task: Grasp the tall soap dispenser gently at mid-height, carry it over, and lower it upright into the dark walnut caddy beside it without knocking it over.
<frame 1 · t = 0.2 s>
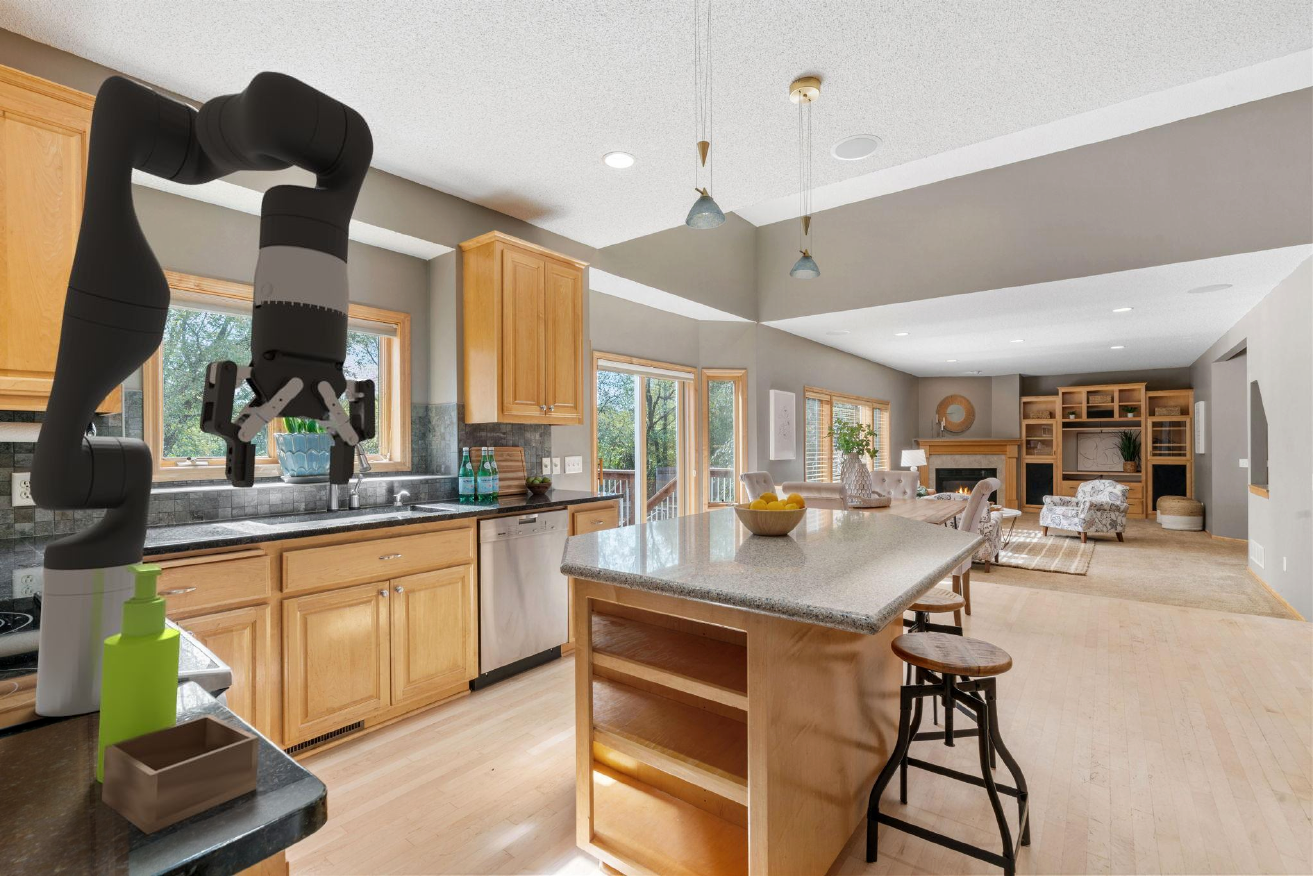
hand: (293, 485, 55), 29 cm above the counter, fingers open, 8 cm apart
soap dispenser: (135, 769, 61), on the counter
walnut caddy: (180, 794, 57), on the counter
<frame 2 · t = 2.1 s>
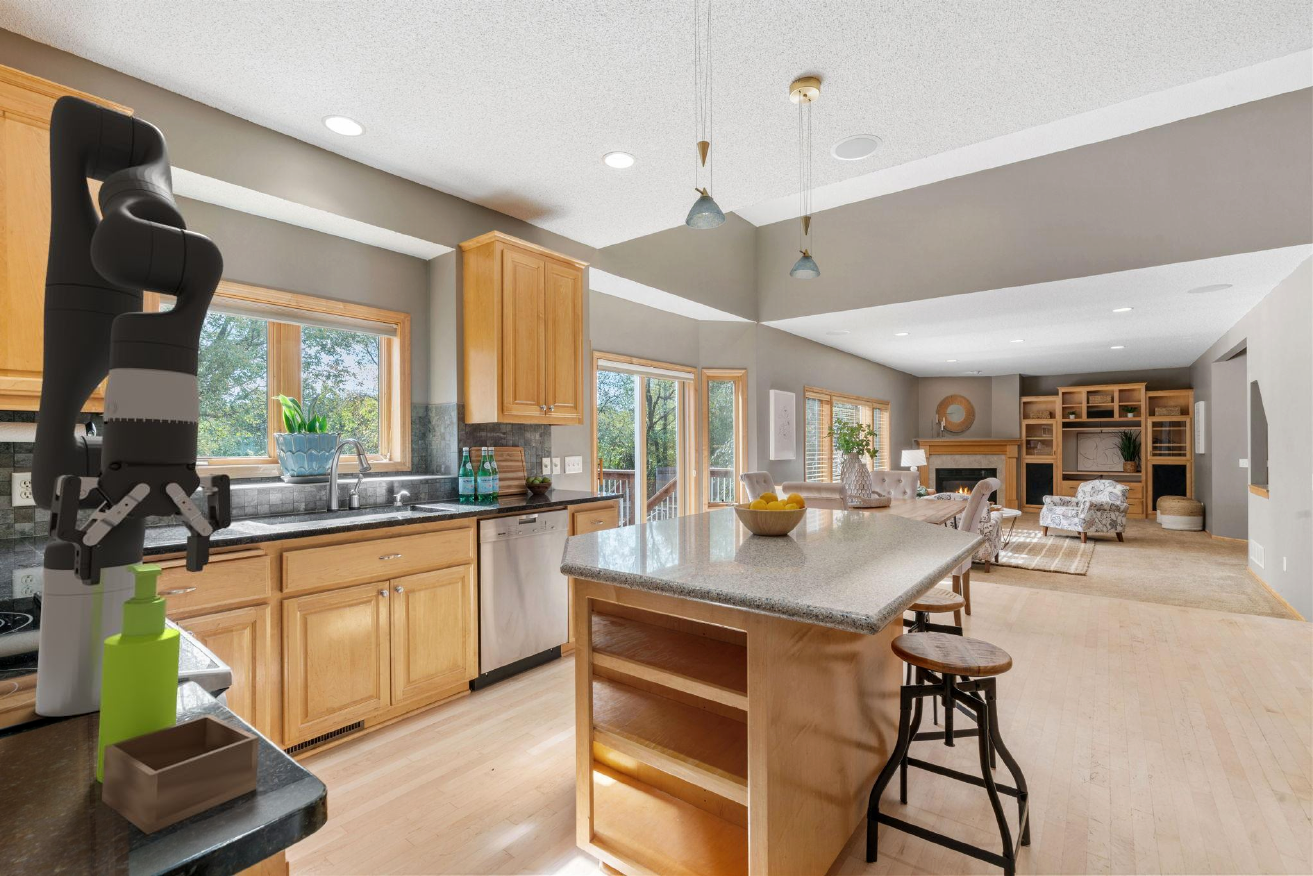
hand: (145, 577, 62), 19 cm above the counter, fingers open, 8 cm apart
nothing on the counter moved.
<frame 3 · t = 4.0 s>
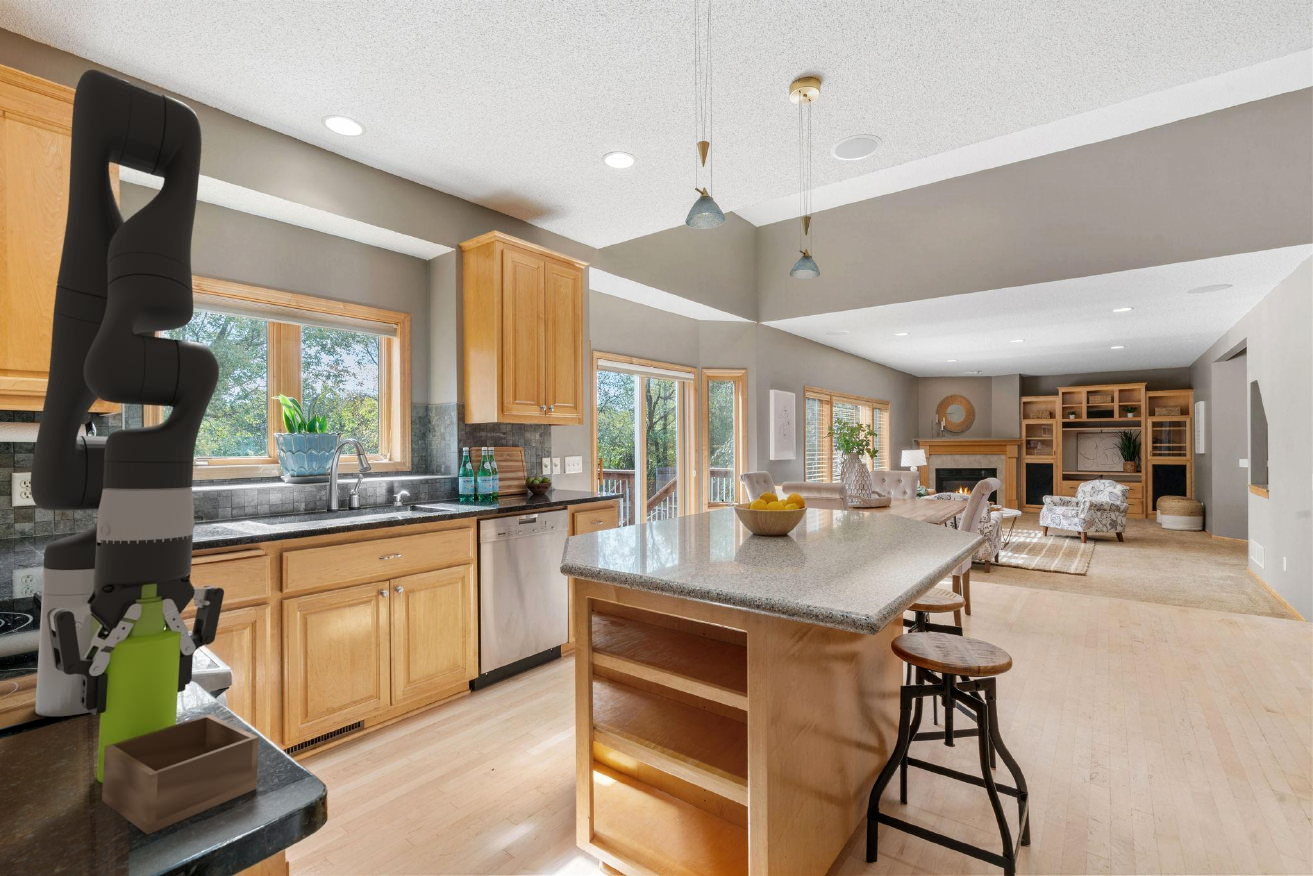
hand: (138, 700, 61), 7 cm above the counter, fingers closed on soap dispenser, 6 cm apart
soap dispenser: (135, 768, 61), on the counter, touching gripper
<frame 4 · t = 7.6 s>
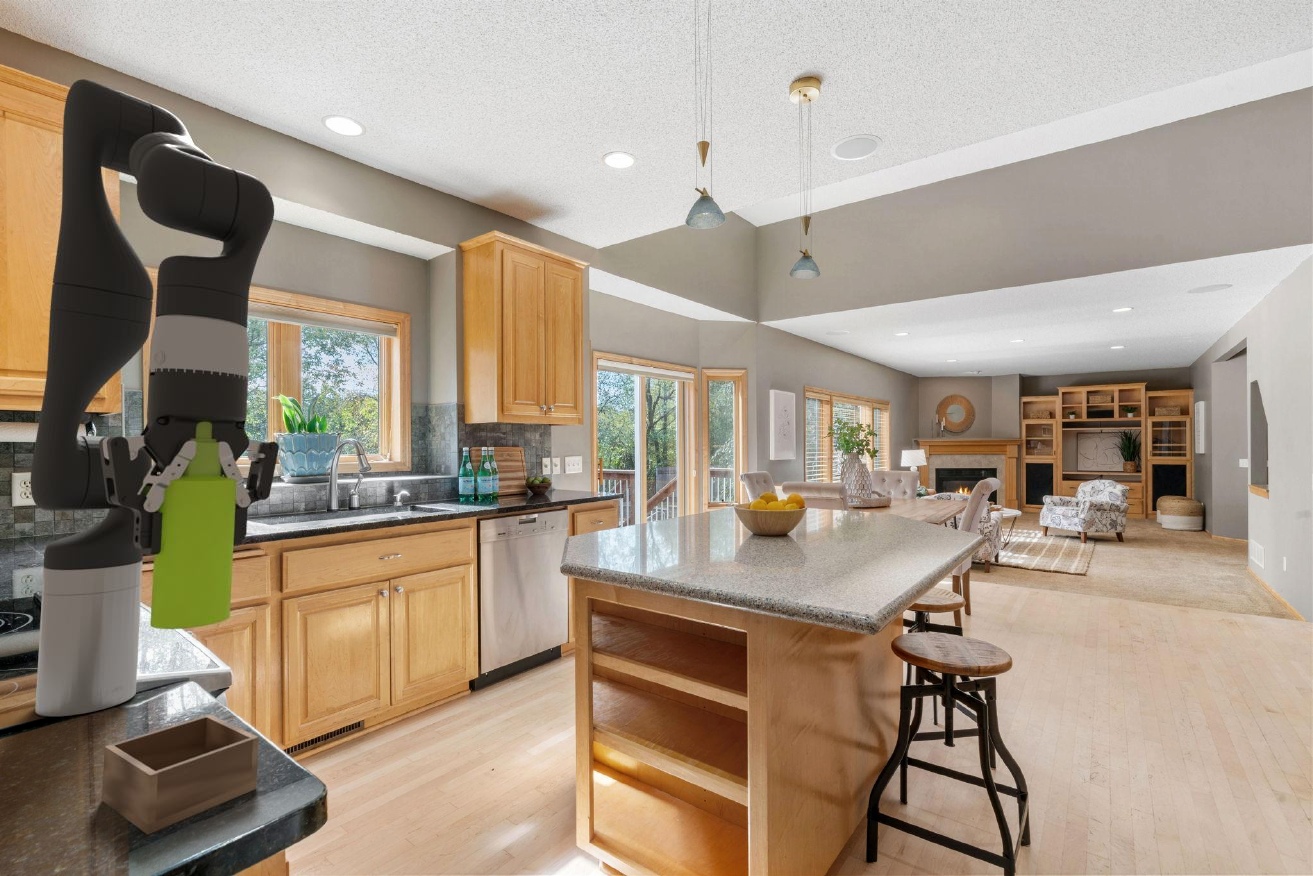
hand: (192, 548, 57), 23 cm above the counter, fingers closed on soap dispenser, 6 cm apart
soap dispenser: (189, 621, 57), point 16 cm above the counter, touching gripper
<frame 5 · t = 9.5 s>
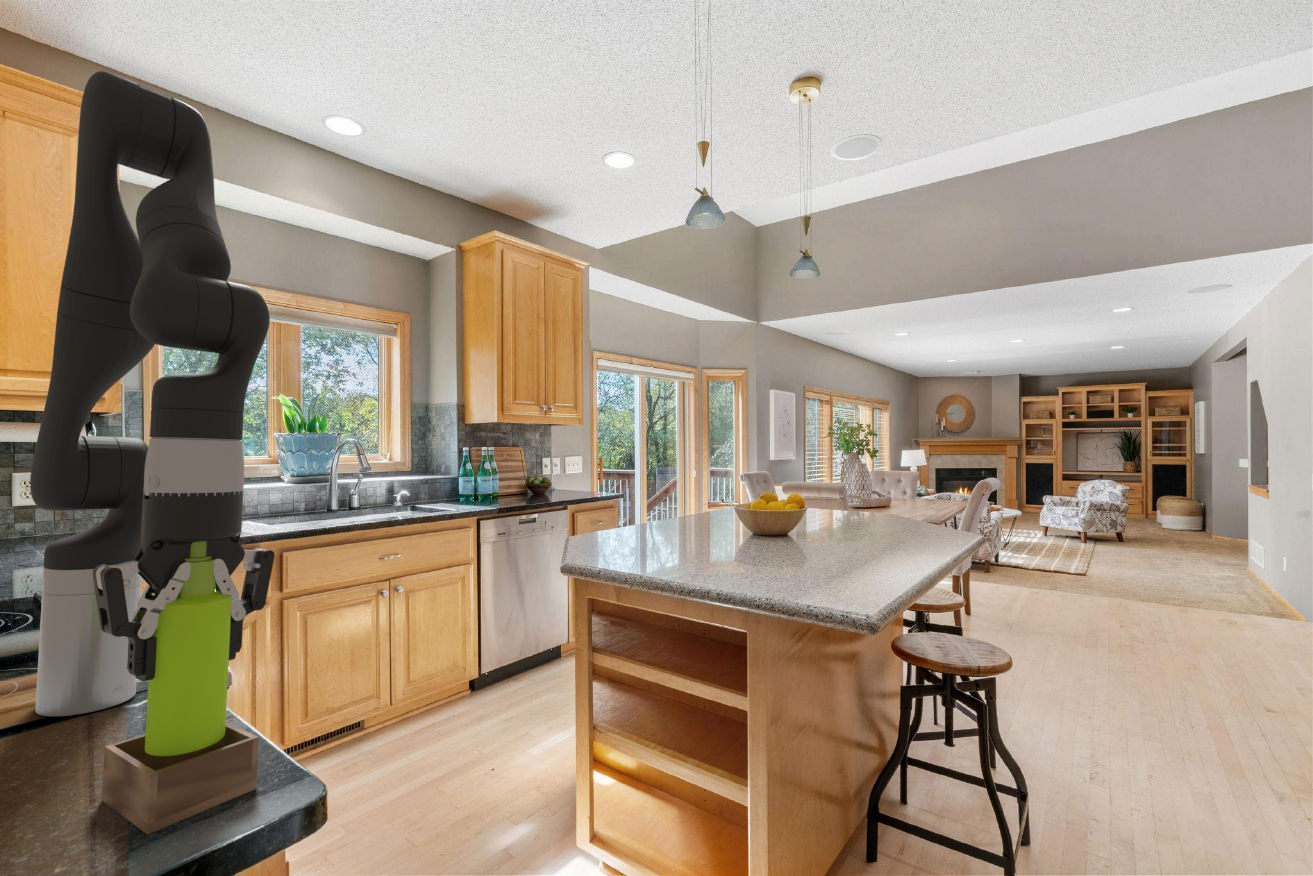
hand: (186, 667, 57), 12 cm above the counter, fingers closed on soap dispenser, 6 cm apart
soap dispenser: (184, 741, 57), point 5 cm above the counter, touching gripper
when the fingers open (9 cm above the counter, at t = 11.1 s): soap dispenser drops 1 cm, resting on walnut caddy.
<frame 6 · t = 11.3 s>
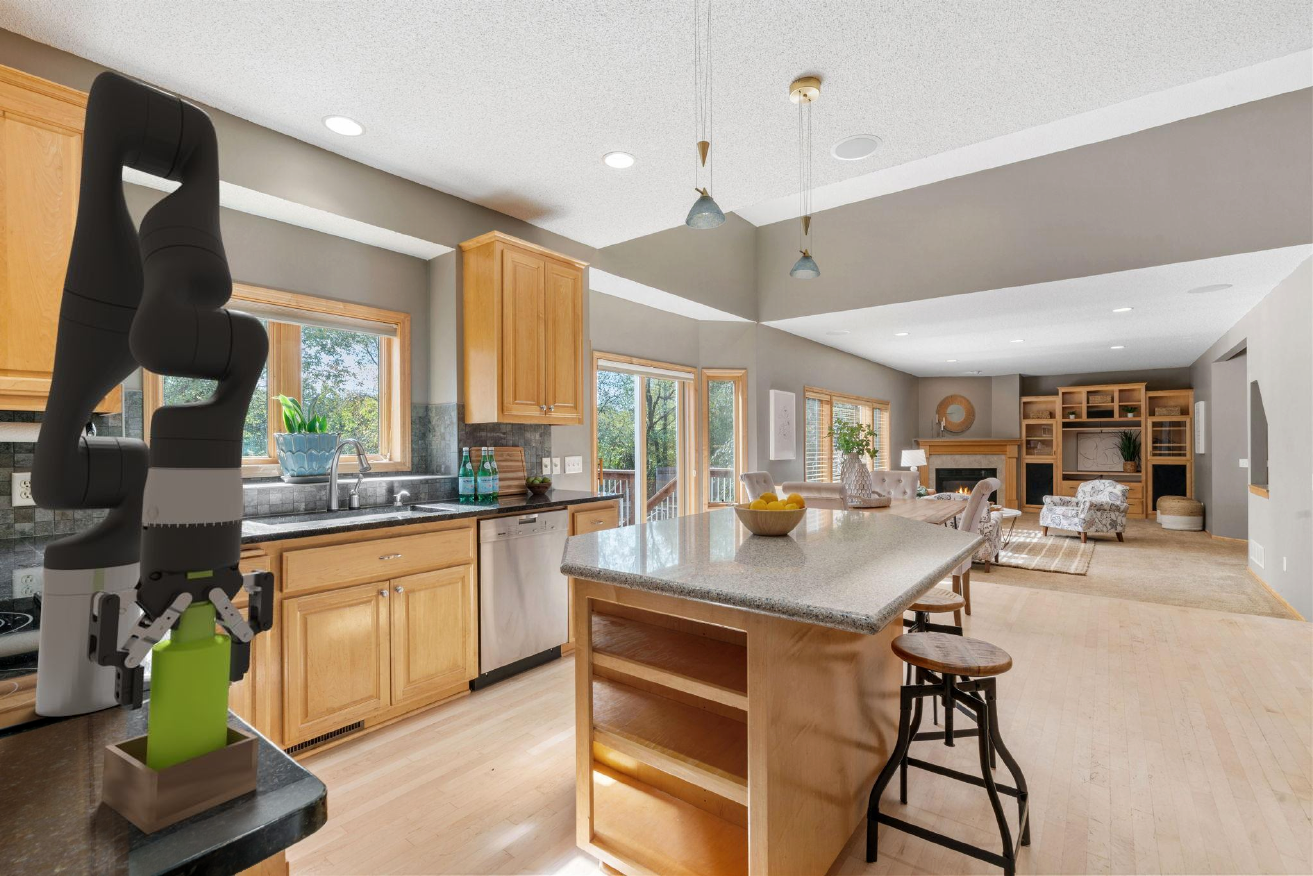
hand: (185, 692, 57), 9 cm above the counter, fingers open, 7 cm apart
soap dispenser: (184, 785, 57), point 1 cm above the counter, touching walnut caddy
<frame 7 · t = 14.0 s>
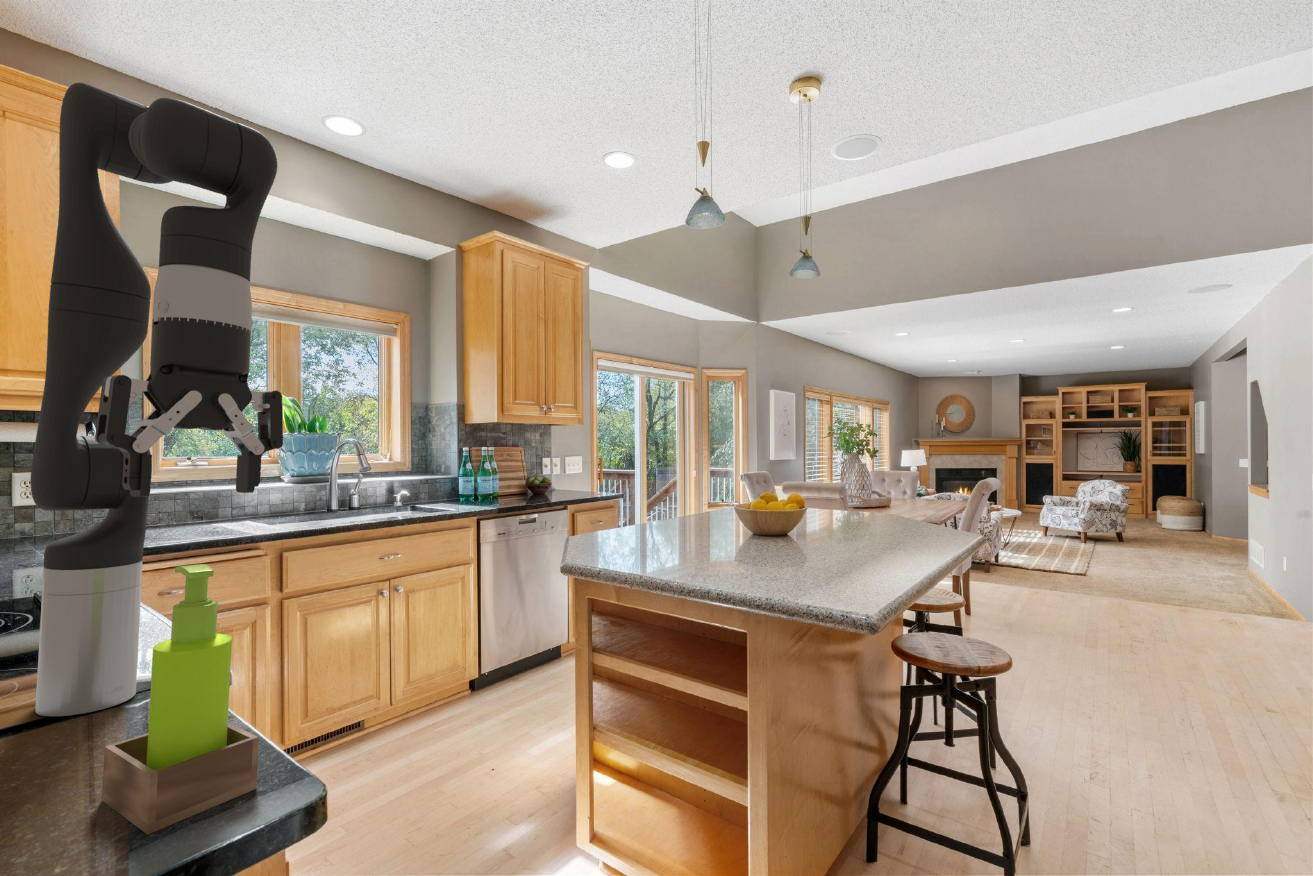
hand: (195, 494, 58), 28 cm above the counter, fingers open, 8 cm apart
nothing on the counter moved.
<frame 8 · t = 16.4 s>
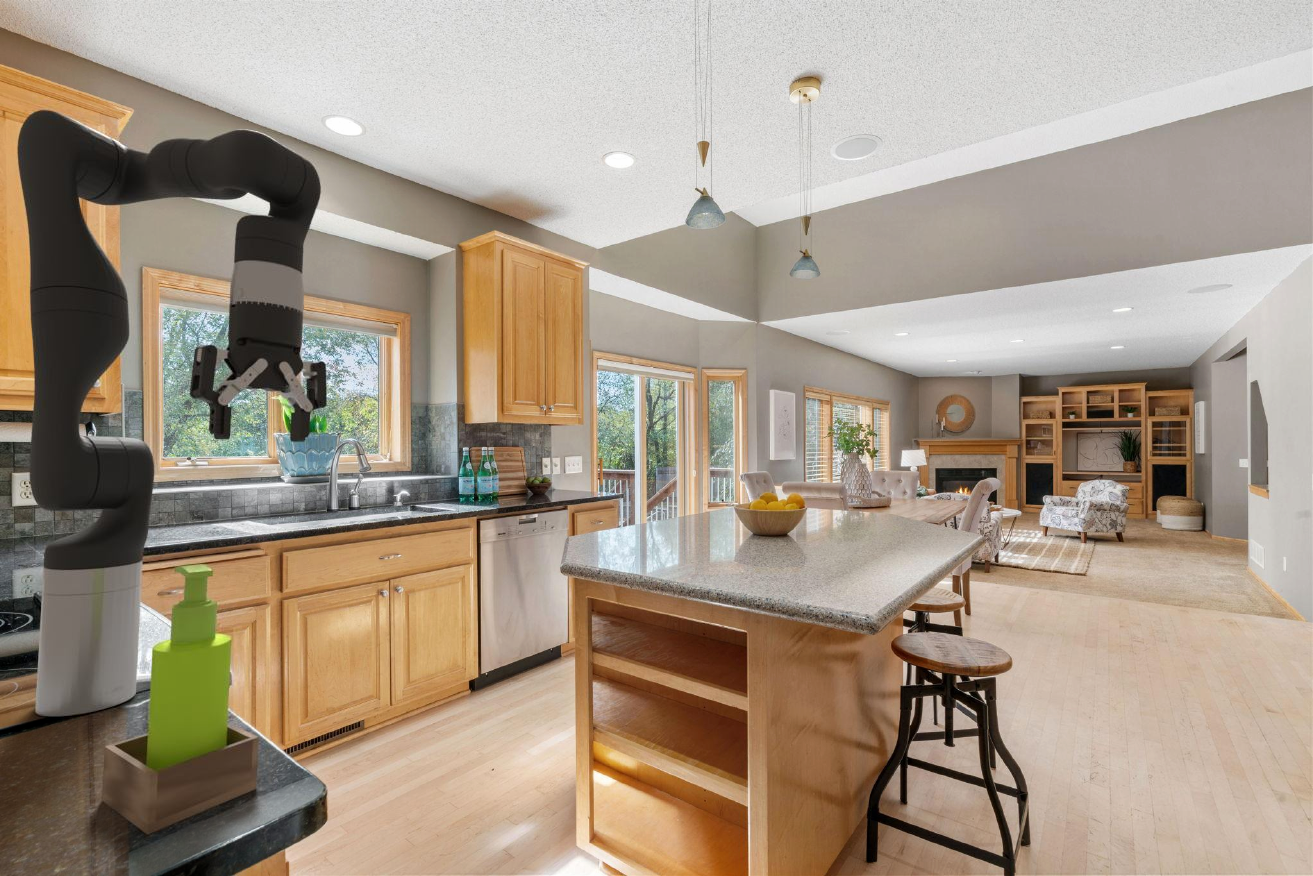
hand: (261, 440, 73), 33 cm above the counter, fingers open, 8 cm apart
nothing on the counter moved.
at the end: soap dispenser 0.3 cm off-centre on the walnut caddy, point 0.6 cm above the walnut caddy's base; soap dispenser tilted 0°; the gripper is holding nothing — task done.
